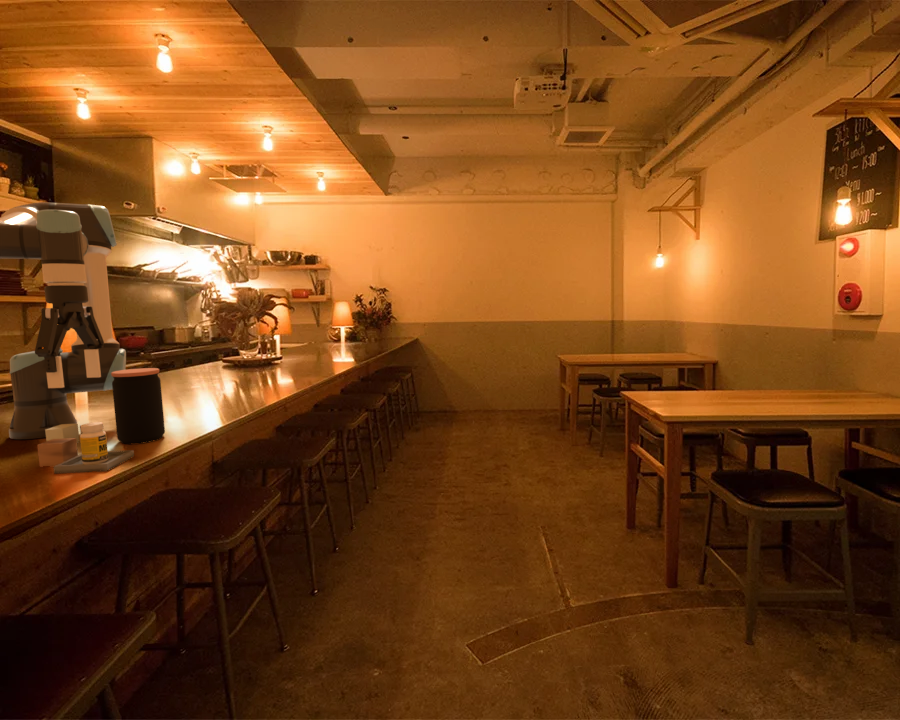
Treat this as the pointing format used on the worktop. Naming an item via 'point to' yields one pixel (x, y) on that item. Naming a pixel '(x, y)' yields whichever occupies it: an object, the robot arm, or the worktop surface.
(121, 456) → the slate tray
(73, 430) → the sage block
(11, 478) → the worktop surface
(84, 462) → the supplement bottle
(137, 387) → the coffee jar
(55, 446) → the walnut block
